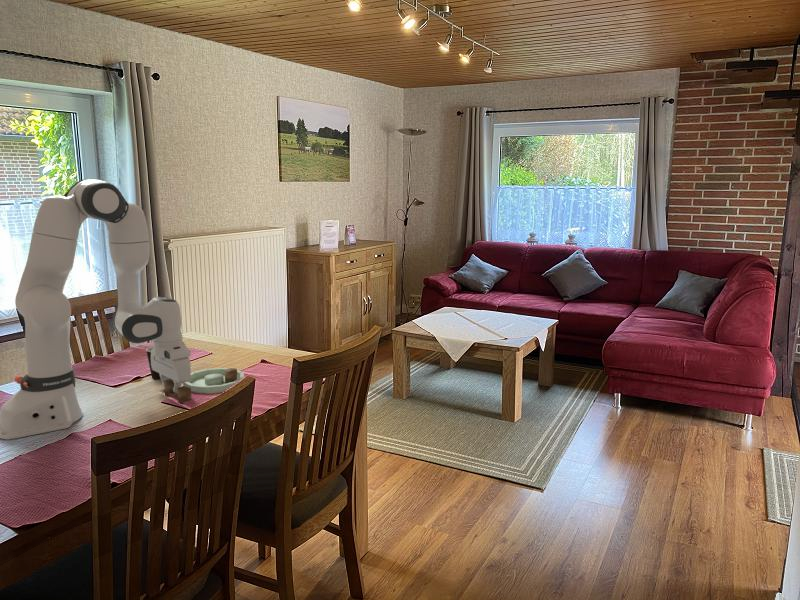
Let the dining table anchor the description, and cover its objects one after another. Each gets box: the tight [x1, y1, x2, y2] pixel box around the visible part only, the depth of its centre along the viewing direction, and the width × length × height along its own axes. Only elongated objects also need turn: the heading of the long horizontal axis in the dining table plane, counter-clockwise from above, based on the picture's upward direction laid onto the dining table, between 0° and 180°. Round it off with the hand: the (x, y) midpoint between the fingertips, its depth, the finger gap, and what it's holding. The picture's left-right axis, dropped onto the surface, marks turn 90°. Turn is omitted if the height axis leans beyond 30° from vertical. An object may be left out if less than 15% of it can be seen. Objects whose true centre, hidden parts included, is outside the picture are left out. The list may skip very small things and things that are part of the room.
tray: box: [182, 367, 245, 394], centre depth 208 cm, size 20×20×3 cm
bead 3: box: [225, 367, 238, 384], centre depth 208 cm, size 4×4×4 cm
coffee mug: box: [145, 346, 161, 380], centre depth 218 cm, size 12×9×10 cm
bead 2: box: [177, 385, 192, 405], centre depth 194 cm, size 4×4×4 cm
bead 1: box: [163, 378, 176, 398], centre depth 200 cm, size 4×4×4 cm
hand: (171, 389), depth 200 cm, fingers open, 6 cm apart
